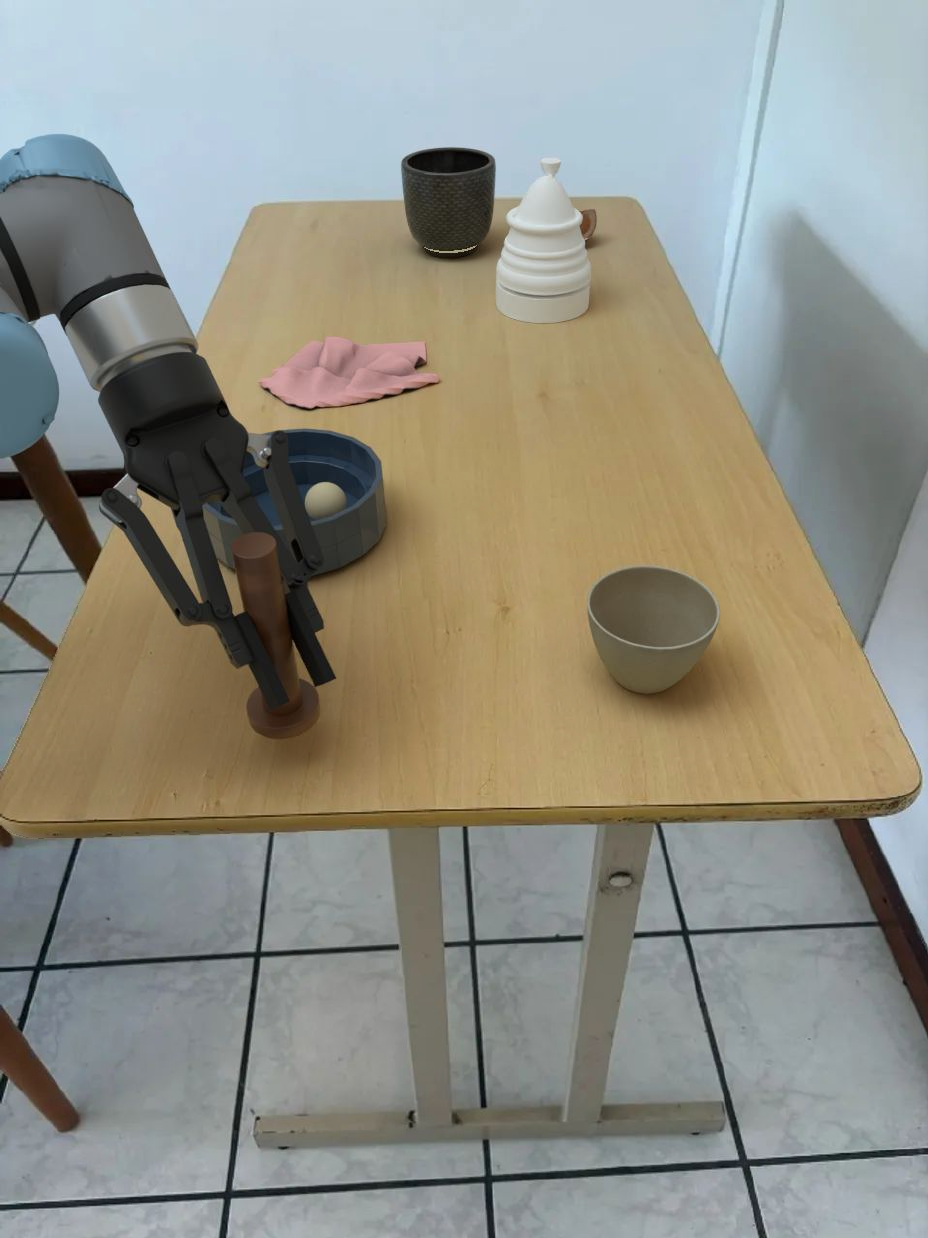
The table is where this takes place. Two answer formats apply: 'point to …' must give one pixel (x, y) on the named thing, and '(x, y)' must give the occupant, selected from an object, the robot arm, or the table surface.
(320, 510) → the dough ball
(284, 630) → the wooden peg stand
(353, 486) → the bowl
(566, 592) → the table surface
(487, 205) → the planter
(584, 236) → the fruit slice
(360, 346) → the cloth
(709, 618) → the flower pot
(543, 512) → the table surface
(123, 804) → the table surface
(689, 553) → the table surface
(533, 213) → the honey pot
